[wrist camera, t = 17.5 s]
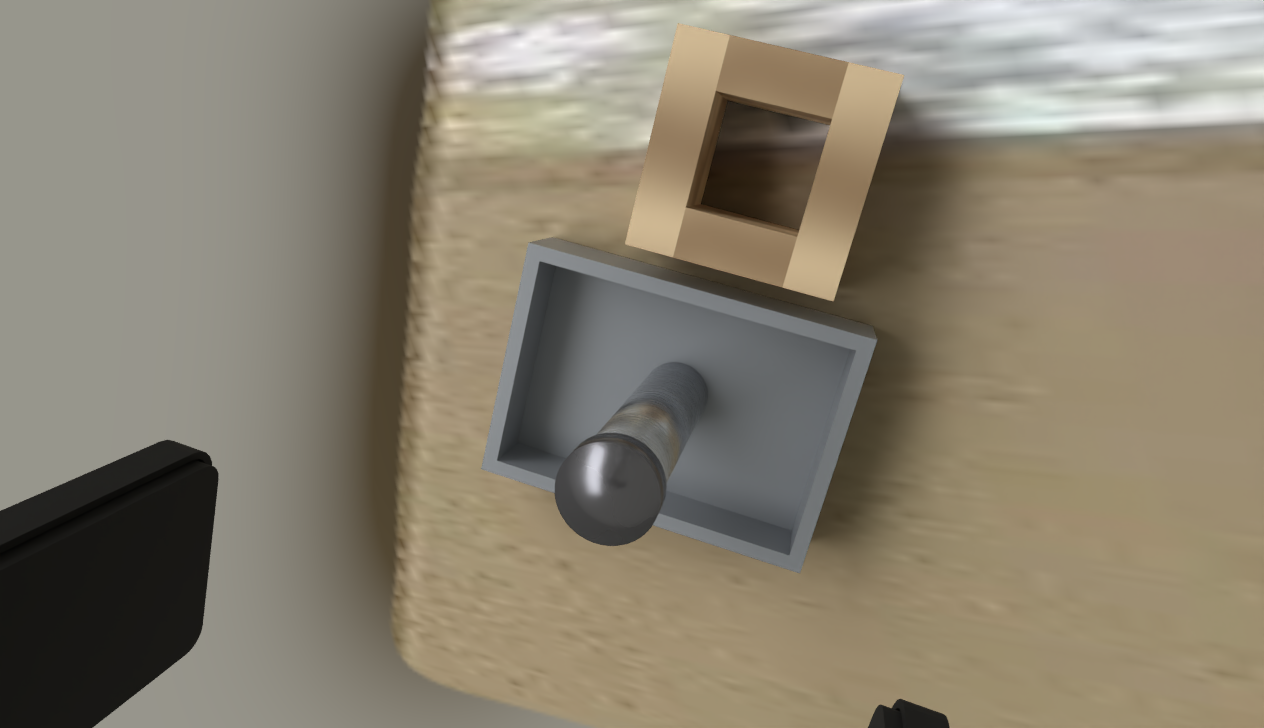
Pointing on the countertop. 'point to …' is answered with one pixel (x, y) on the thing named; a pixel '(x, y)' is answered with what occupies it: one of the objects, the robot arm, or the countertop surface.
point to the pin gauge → (631, 458)
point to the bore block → (687, 139)
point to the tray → (731, 367)
